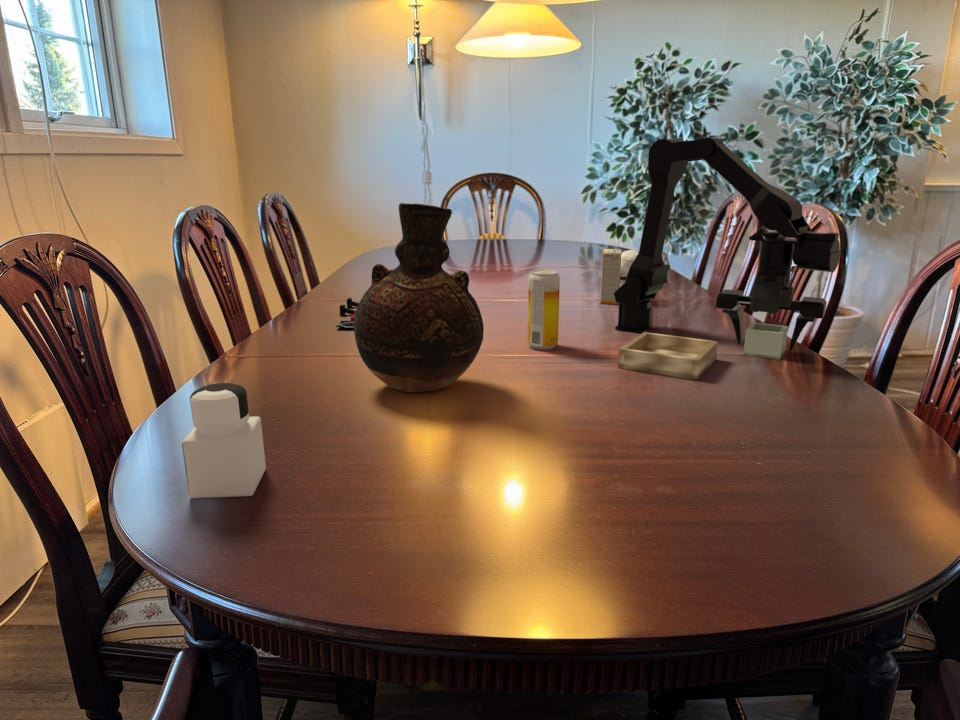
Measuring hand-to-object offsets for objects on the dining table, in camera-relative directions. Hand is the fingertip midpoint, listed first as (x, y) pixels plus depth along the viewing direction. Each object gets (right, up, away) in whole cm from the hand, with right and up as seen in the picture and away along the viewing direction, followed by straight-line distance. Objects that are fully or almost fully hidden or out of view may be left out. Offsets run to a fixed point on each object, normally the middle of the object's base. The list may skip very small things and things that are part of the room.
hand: (764, 347), depth 131 cm
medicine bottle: (-84, -17, -50) cm, 100 cm away
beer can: (-42, 0, +6) cm, 43 cm away
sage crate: (0, -1, 0) cm, 1 cm away
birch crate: (-20, -3, -6) cm, 21 cm away
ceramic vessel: (-65, -7, -17) cm, 67 cm away
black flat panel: (-81, +8, +34) cm, 88 cm away
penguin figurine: (-12, +22, +79) cm, 82 cm away
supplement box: (-21, +13, +47) cm, 53 cm away
